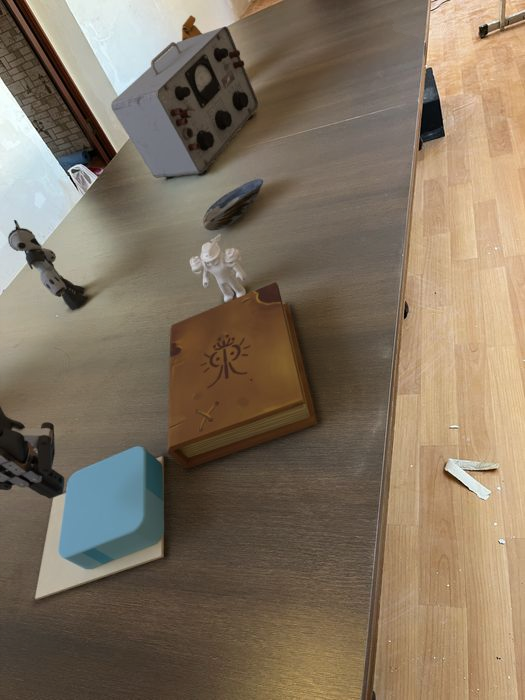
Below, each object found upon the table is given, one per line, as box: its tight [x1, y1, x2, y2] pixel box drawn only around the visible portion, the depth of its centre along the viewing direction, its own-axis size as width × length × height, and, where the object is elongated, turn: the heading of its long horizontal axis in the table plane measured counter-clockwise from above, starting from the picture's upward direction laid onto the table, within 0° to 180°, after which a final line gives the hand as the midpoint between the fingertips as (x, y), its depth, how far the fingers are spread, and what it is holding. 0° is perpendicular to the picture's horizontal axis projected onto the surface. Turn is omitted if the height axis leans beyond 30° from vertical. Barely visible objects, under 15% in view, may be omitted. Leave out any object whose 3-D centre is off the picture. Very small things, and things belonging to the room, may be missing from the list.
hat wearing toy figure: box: [189, 233, 247, 303], centre depth 82 cm, size 9×4×12 cm, turn 80°
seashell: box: [201, 178, 264, 232], centre depth 101 cm, size 15×12×5 cm
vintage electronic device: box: [110, 26, 259, 180], centre depth 124 cm, size 32×18×25 cm, turn 150°
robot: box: [7, 219, 89, 311], centre depth 101 cm, size 20×5×20 cm, turn 28°
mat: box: [34, 455, 165, 601], centre depth 64 cm, size 18×14×1 cm
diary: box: [167, 281, 319, 468], centre depth 69 cm, size 23×19×6 cm
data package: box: [58, 445, 165, 569], centre depth 62 cm, size 12×4×12 cm
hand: (58, 489), depth 57 cm, fingers closed
